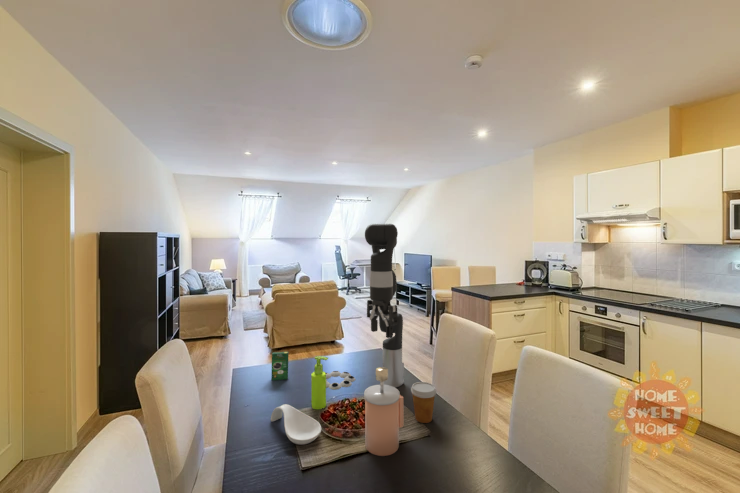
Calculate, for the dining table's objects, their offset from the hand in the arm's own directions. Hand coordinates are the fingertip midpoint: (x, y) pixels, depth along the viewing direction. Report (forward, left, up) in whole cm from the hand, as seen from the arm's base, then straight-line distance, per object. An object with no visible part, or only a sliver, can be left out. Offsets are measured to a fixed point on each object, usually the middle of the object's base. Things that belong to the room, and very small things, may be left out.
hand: (381, 334), depth 102 cm
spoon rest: (+22, -23, -37) cm, 49 cm away
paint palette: (-9, -52, -37) cm, 65 cm away
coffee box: (+13, -68, -37) cm, 78 cm away
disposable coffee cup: (-22, -4, -37) cm, 43 cm away
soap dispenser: (+7, -34, -37) cm, 50 cm away
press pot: (-1, 0, -36) cm, 37 cm away
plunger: (0, 0, -19) cm, 19 cm away
